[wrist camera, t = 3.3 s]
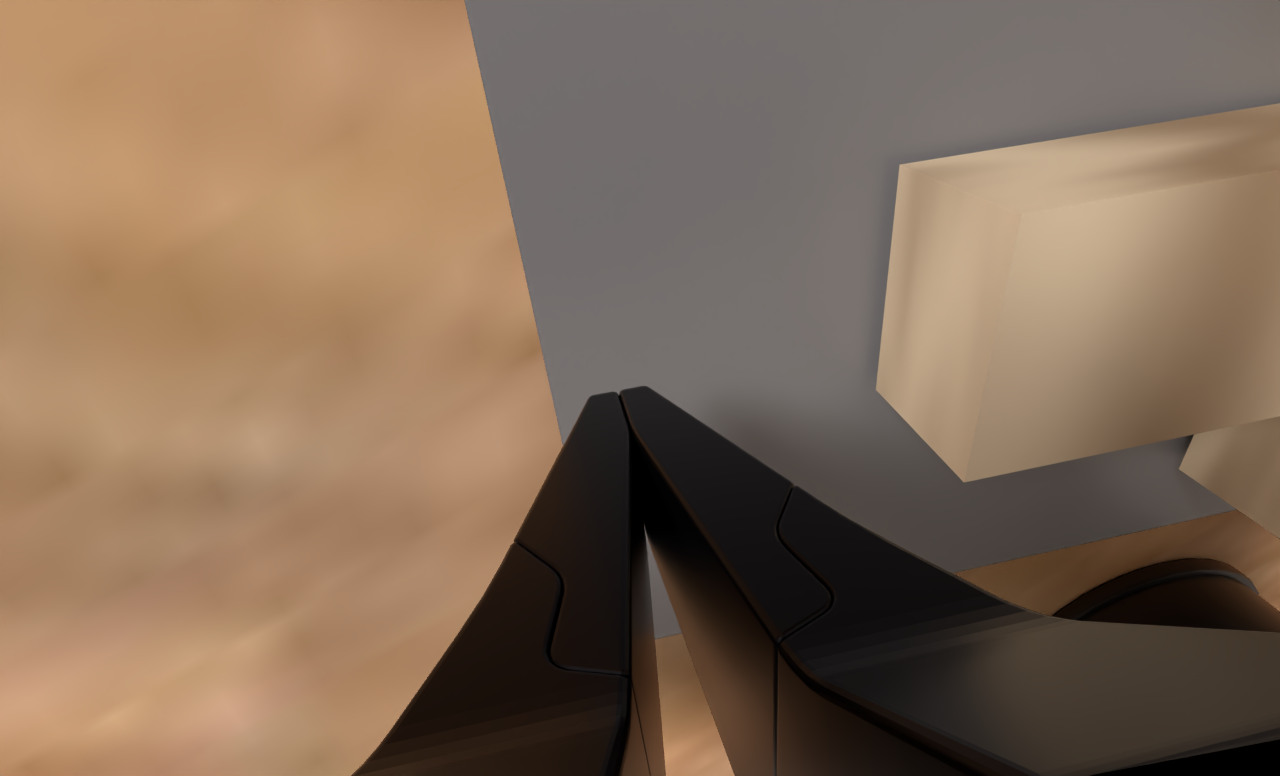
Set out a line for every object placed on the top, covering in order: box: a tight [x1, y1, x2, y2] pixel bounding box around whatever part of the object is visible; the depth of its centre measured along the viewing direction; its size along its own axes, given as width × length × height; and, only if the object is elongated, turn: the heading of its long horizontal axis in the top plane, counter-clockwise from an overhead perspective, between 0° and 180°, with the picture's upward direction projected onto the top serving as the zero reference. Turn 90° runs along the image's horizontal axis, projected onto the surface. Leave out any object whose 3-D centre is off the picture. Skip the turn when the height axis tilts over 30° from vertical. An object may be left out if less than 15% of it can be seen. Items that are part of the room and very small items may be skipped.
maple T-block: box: [876, 103, 1280, 539], centre depth 11 cm, size 13×13×3 cm
